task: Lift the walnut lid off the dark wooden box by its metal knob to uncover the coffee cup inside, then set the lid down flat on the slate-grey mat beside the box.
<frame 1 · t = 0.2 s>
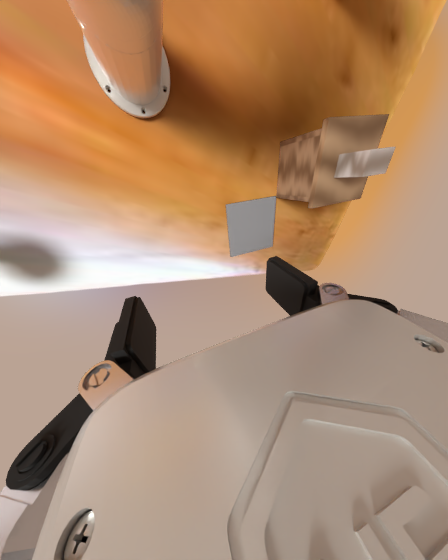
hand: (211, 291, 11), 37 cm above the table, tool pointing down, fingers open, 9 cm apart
mat: (251, 227, 50), on the table
box: (297, 169, 46), on the table
lid: (342, 165, 35), point 14 cm above the table, touching box
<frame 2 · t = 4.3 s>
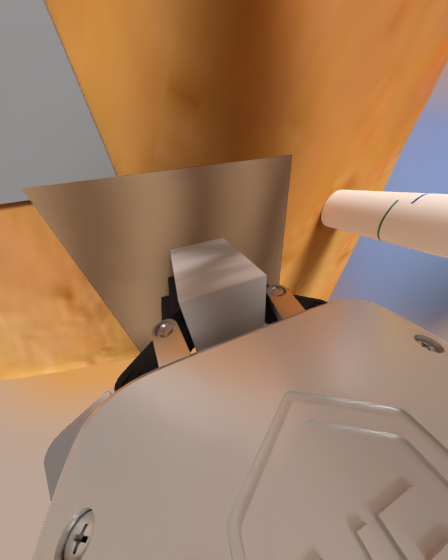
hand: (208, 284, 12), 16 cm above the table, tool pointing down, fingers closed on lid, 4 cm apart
cylindrical container: (334, 209, 34), on the table
lid: (201, 271, 14), point 14 cm above the table, touching box, gripper
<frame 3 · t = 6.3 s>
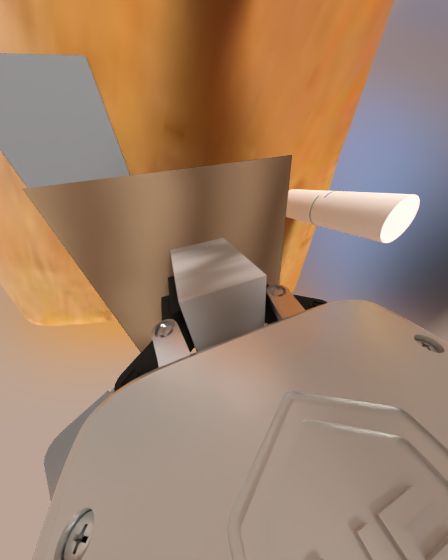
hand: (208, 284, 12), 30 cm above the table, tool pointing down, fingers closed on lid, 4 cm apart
mat: (59, 137, 25), on the table
cylindrical container: (290, 203, 45), on the table
lid: (201, 271, 14), point 28 cm above the table, touching gripper
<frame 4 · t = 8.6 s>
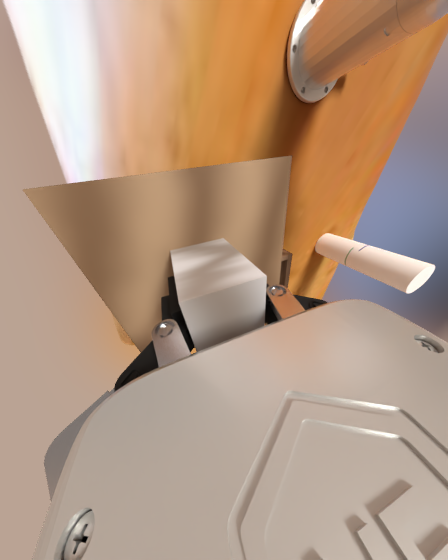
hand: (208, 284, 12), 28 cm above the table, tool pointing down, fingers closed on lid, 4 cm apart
cylindrical container: (323, 243, 54), on the table
box: (238, 262, 46), on the table
lid: (202, 271, 14), point 26 cm above the table, touching gripper
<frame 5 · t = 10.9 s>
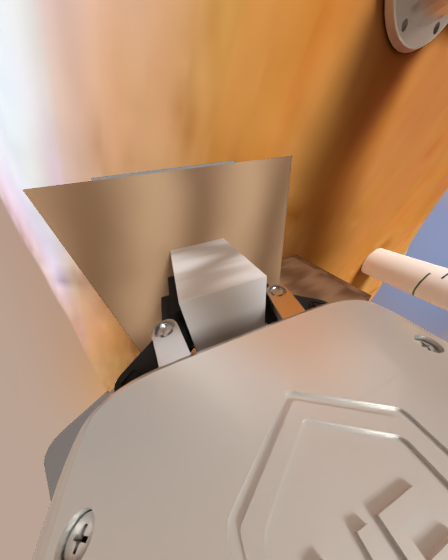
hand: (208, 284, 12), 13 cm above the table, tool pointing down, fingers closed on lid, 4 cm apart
mat: (186, 236, 23), on the table
cylindrical container: (371, 260, 42), on the table
box: (267, 289, 34), on the table
lid: (202, 271, 14), point 11 cm above the table, touching gripper
when the fingers open (4 cm above the table, at t = 13.1 s): lid drops 1 cm, resting on mat.
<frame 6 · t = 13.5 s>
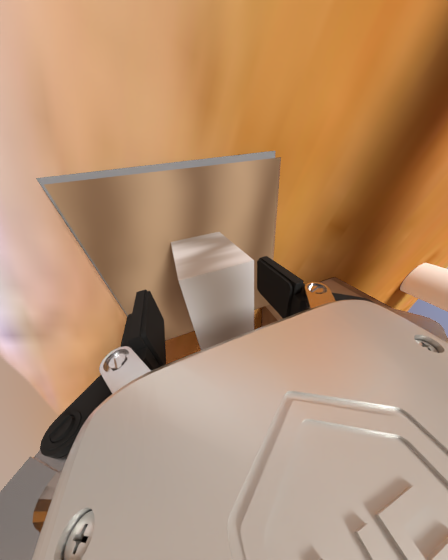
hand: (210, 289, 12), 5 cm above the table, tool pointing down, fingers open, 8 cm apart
mat: (197, 262, 16), on the table
cylindrical container: (412, 277, 35), on the table
box: (294, 318, 27), on the table
lid: (199, 263, 15), resting on mat
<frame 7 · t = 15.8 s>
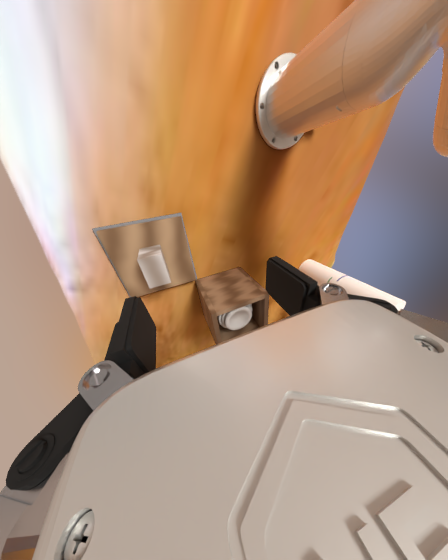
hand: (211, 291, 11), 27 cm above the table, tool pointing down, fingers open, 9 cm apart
mat: (154, 257, 35), on the table
cylindrical container: (305, 268, 56), on the table
box: (221, 292, 46), on the table
coffee cup: (220, 291, 47), resting in box
lid: (154, 258, 34), resting on mat
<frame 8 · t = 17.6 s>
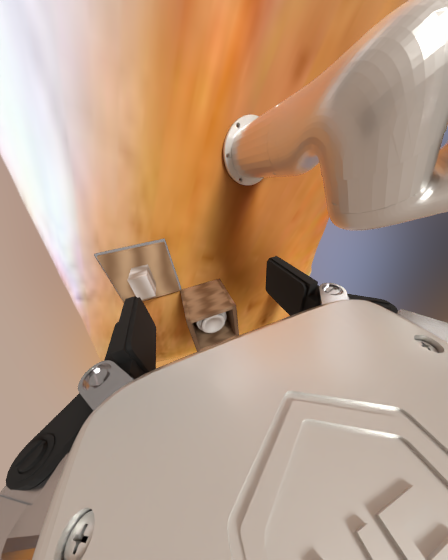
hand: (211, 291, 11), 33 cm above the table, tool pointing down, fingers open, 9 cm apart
box: (204, 299, 54), on the table
coffee cup: (203, 299, 54), resting in box
lid: (144, 274, 42), resting on mat
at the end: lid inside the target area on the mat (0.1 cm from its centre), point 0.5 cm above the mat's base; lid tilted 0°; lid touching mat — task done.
